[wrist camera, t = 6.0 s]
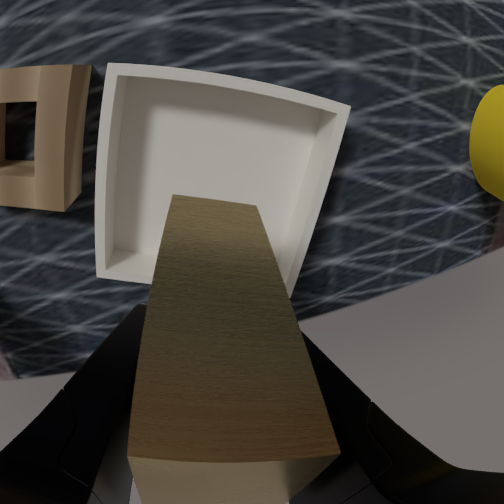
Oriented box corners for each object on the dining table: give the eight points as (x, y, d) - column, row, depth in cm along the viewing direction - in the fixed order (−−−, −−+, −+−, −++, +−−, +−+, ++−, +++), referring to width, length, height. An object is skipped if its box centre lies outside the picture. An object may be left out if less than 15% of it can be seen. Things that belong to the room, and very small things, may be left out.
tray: (107, 251, 21) (96, 277, 18) (122, 64, 15) (107, 62, 12) (280, 271, 23) (290, 298, 21) (330, 100, 17) (351, 106, 15)
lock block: (-13, 184, 16) (-36, 201, 14) (-12, 71, 13) (-38, 75, 10) (81, 192, 18) (64, 212, 16) (92, 65, 14) (72, 64, 12)
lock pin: (165, 266, 12) (142, 505, 5) (172, 194, 11) (127, 456, 3) (240, 274, 13) (283, 504, 5) (256, 205, 12) (340, 453, 4)
